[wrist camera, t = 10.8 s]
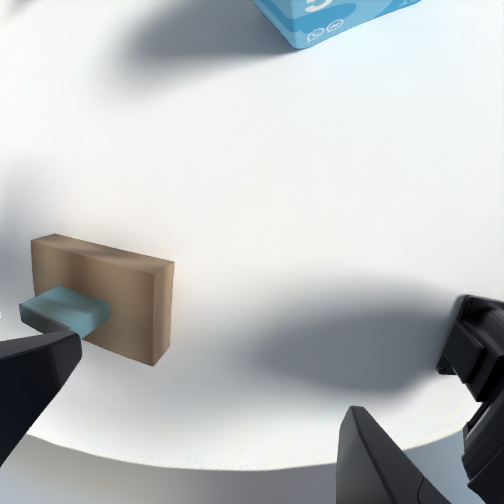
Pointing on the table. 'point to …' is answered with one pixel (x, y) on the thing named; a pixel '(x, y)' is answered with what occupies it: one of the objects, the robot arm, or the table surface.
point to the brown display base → (101, 296)
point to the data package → (323, 17)
